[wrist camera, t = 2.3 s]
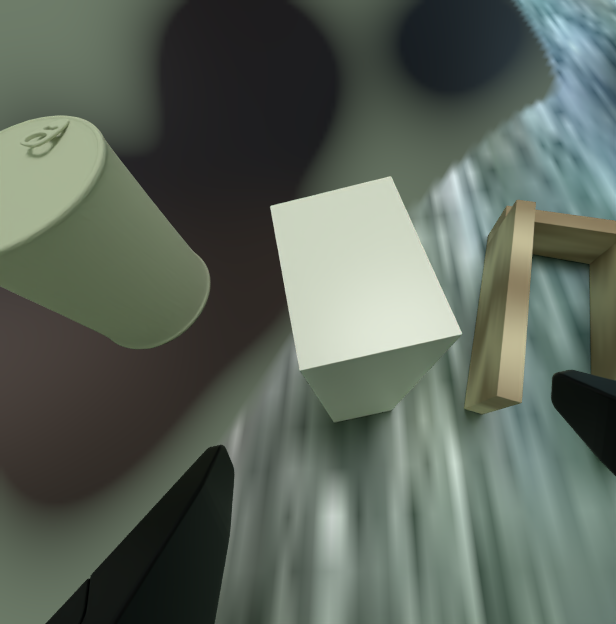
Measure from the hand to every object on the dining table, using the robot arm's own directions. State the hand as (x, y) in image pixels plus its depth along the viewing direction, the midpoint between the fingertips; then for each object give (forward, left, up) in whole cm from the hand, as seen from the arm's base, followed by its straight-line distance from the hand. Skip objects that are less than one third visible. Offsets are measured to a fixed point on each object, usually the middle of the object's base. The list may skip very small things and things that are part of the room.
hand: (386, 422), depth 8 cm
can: (+18, +7, -11) cm, 22 cm away
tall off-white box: (+3, -2, -11) cm, 11 cm away
